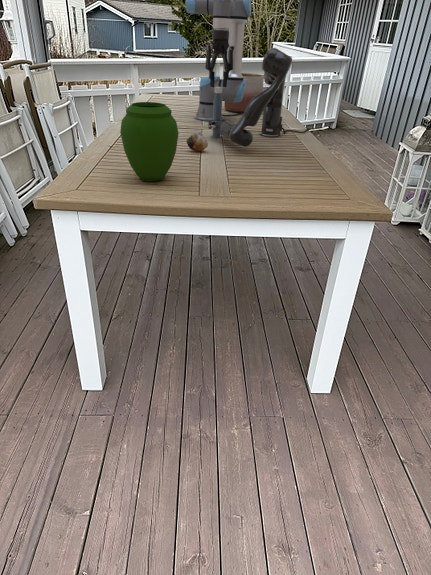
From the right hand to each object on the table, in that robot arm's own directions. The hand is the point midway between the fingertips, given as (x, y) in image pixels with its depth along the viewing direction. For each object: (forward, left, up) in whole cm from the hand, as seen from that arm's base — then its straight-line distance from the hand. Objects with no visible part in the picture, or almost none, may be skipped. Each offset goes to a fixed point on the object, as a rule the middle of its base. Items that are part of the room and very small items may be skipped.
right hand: (215, 121), depth 207 cm
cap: (0, +3, +16) cm, 16 cm away
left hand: (0, +3, +17) cm, 17 cm away
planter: (-47, -72, -7) cm, 86 cm away
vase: (+47, +63, -7) cm, 79 cm away
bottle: (0, +3, -7) cm, 7 cm away
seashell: (+19, +29, -7) cm, 35 cm away
